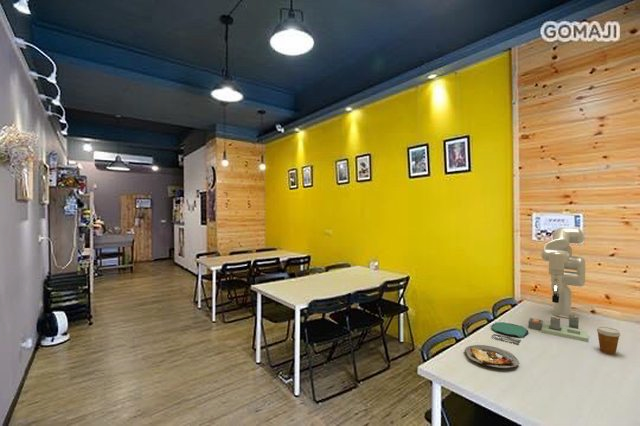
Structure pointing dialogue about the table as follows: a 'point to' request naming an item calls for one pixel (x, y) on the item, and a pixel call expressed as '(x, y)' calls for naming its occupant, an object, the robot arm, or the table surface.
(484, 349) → the food plate
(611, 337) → the disposable coffee cup
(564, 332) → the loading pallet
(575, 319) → the knobbed taupe block
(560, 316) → the robot arm
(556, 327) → the seated billet
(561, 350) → the table surface
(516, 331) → the green-topped navy dish
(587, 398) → the table surface
